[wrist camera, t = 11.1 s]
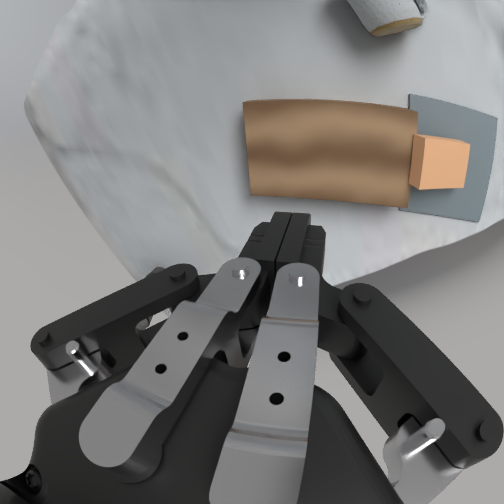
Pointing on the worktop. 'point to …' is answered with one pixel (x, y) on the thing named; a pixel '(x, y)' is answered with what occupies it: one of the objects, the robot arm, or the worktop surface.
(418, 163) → the orange tan rectangular block
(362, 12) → the ceramic mug
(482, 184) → the mat
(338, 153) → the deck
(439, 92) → the worktop surface
